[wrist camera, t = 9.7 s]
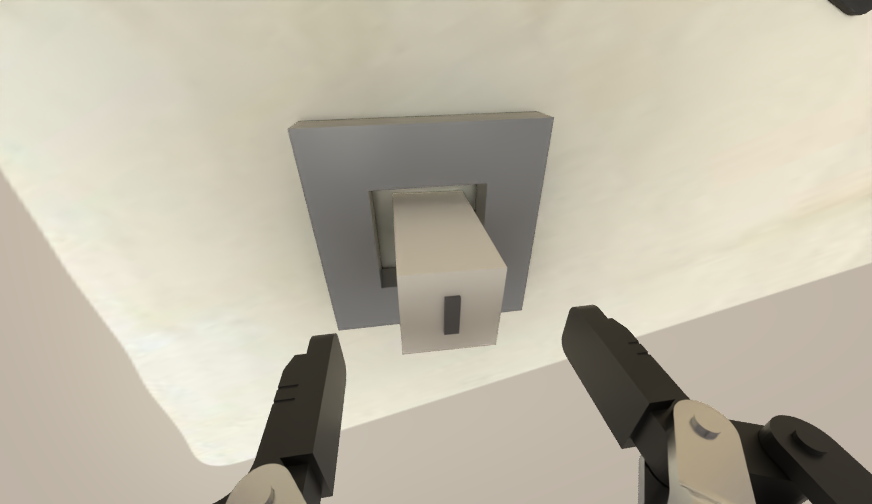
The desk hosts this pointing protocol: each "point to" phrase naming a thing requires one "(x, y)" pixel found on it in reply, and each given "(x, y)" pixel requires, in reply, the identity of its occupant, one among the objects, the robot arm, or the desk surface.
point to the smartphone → (853, 6)
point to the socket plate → (416, 168)
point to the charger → (445, 273)
